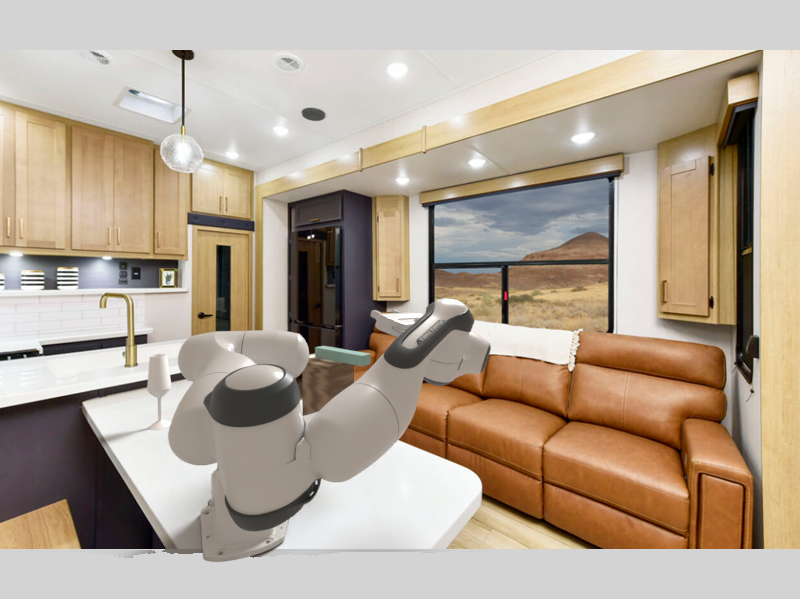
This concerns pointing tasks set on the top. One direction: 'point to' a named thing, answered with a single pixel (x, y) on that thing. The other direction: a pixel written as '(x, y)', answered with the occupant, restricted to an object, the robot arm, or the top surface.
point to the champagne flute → (159, 385)
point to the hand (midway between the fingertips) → (382, 312)
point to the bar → (343, 355)
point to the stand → (323, 382)
